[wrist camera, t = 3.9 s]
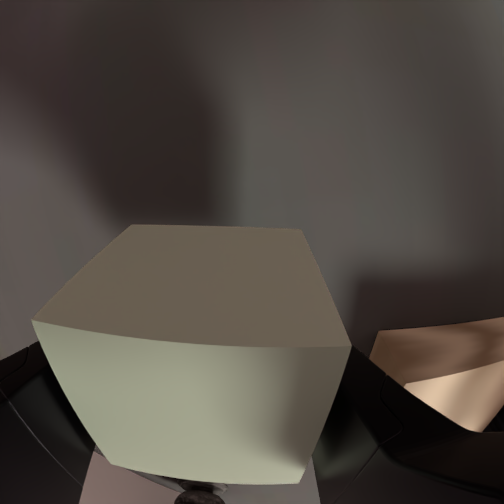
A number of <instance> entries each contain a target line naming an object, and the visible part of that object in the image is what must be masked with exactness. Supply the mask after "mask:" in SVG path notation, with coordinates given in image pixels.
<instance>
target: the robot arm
mask: <svg viewBox="0 0 504 504" xmlns="http://www.w3.org/2000/svg"><path fill="white" fill-rule="evenodd" d="M351 345H352V344H351ZM95 445H96V443H95V442H94V440H93V439H92V437H91V436H90V434H89V433H88V431H87V430H86V428H85V427H84V425H83V424H82V422H81V420H80V419H79V417H78V416H77V414H76V412H75V411H74V409H73V407H72V405H71V404H70V402H69V400H68V398H67V397H66V395H65V393H64V391H63V389H62V388H61V386H60V384H59V382H58V380H57V378H56V376H55V374H54V372H53V370H52V368H51V366H50V364H49V362H48V359H47V357H46V355H45V353H44V351H43V348H42V346H41V344H40V341H37V342H35V343H34V344H32V345H30V346H29V347H26V348H24V349H22V350H20V351H18V352H16V353H15V354H13V355H11V356H9V357H7V358H5V359H2V360H0V504H79V502H80V498H81V494H82V490H83V486H84V482H85V478H86V475H87V471H88V468H89V465H90V461H91V458H92V455H93V451H94V448H95ZM312 459H313V465H314V470H315V475H316V481H317V486H318V492H319V497H320V503H321V504H504V405H503V406H502V408H501V409H500V410H499V412H498V413H497V414H496V415H495V417H494V418H493V419H492V420H491V422H490V423H489V424H488V425H487V426H486V428H485V429H484V430H483V431H482V432H475V431H471V430H468V429H466V428H464V427H462V426H460V425H458V424H457V423H455V422H454V421H452V420H451V419H449V418H447V417H446V416H444V415H443V414H441V413H440V412H438V411H437V410H435V409H434V408H432V407H431V406H429V405H428V404H426V403H425V402H423V401H422V400H420V399H419V398H417V397H416V396H415V395H413V394H412V393H410V392H409V391H408V390H407V389H405V388H404V387H403V386H401V385H400V384H399V383H398V382H396V381H395V380H394V379H393V378H392V377H390V376H389V375H386V373H385V372H384V371H383V370H382V369H381V368H379V367H378V366H377V365H376V364H375V363H373V362H372V361H371V360H370V359H369V358H367V357H366V356H365V355H364V354H363V353H361V352H360V351H359V350H358V349H357V348H356V347H354V346H353V345H352V347H351V350H350V354H349V357H348V360H347V363H346V366H345V369H344V372H343V375H342V378H341V381H340V384H339V387H338V390H337V393H336V396H335V398H334V401H333V404H332V407H331V409H330V412H329V414H328V417H327V420H326V422H325V425H324V427H323V430H322V432H321V435H320V437H319V439H318V442H317V444H316V446H315V449H314V451H313V453H312Z"/></svg>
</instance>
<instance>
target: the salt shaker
mask: <svg viewBox="0 0 504 504" xmlns="http://www.w3.org/2000/svg"><path fill="white" fill-rule="evenodd" d="M177 483H178V485H179V486H180V487H182V488H183V489H184V490H186V491H185V492H183V493H181V494H179V495H178V496H177V498H176V499H175V501H174V504H225V502H224V501H223V500H222V499H221V498H220V497H219V496H218V495H219V494H222V493H224V492H226V491H227V490H228V486H227V485H226V484H224V483H215V482H204V481H195V480H187V479H178V481H177Z"/></svg>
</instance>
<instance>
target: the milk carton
mask: <svg viewBox="0 0 504 504" xmlns="http://www.w3.org/2000/svg"><path fill="white" fill-rule="evenodd" d="M179 494H181V493H180V492H177V491H174V490H172V489H169V488H167V487H164V486H162V485H160V484H157V483H155V482H153V481H150V480H148V479H146V478H144V477H142V476H139V475H137V474H135V473H133V472H131V471H129V470H127V469H125V468H123V467H120V466H116V465H112V464H110V462H109V461H108V460H107V459H106V458H105V457H103V456H101V455H99V454H98V453H96V452H94V451H93V455H92V458H91V461H90V465H89V468H88V471H87V475H86V478H85V482H84V486H83V490H82V494H81V498H80V502H79V504H174V501H175V499H176V498H177V496H178V495H179Z"/></svg>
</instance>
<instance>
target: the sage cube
mask: <svg viewBox="0 0 504 504" xmlns="http://www.w3.org/2000/svg"><path fill="white" fill-rule="evenodd" d="M31 322H32V324H33V327H34V329H35V332H36V334H37V337H38V339H39V341H40V344H41V346H42V348H43V351H44V353H45V355H46V357H47V359H48V362H49V364H50V366H51V368H52V370H53V372H54V374H55V376H56V378H57V380H58V382H59V384H60V386H61V388H62V389H63V391H64V393H65V395H66V397H67V398H68V400H69V402H70V404H71V405H72V407H73V409H74V411H75V412H76V414H77V416H78V417H79V419H80V420H81V422H82V424H83V425H84V427H85V428H86V430H87V431H88V433H89V434H90V436H91V437H92V439H93V440H94V442H95V443H96V445H97V446H98V447H99V449H100V450H101V452H102V453H103V454H104V456H105V457H106V458H107V460H108V461H109V462H110V464H112V465H116V466H120V467H124V468H128V469H132V470H136V471H141V472H145V473H150V474H155V475H161V476H167V477H173V478H179V479H187V480H195V481H204V482H215V483H229V484H292V483H299V481H300V479H301V477H302V475H303V473H304V471H305V469H306V467H307V464H308V462H309V460H310V458H311V456H312V453H313V451H314V449H315V446H316V444H317V442H318V439H319V437H320V435H321V432H322V430H323V427H324V425H325V422H326V420H327V417H328V414H329V412H330V409H331V407H332V404H333V401H334V398H335V396H336V393H337V390H338V387H339V384H340V381H341V378H342V375H343V372H344V369H345V366H346V363H347V360H348V357H349V354H350V350H351V347H352V345H351V343H350V340H349V338H348V335H347V333H346V330H345V328H344V325H343V323H342V321H341V318H340V316H339V313H338V311H337V309H336V306H335V304H334V302H333V299H332V297H331V295H330V292H329V290H328V288H327V285H326V283H325V281H324V279H323V276H322V274H321V272H320V270H319V267H318V265H317V263H316V261H315V258H314V256H313V254H312V252H311V250H310V247H309V245H308V243H307V241H306V239H305V237H304V235H303V232H302V230H301V229H284V228H258V227H229V226H191V225H130V226H129V227H128V228H127V229H126V230H124V231H123V232H122V233H121V234H120V235H118V236H117V237H116V238H115V239H114V240H113V241H112V242H110V243H109V244H108V245H107V246H106V247H105V248H104V249H102V250H101V251H100V252H99V253H98V254H97V255H96V256H95V257H94V258H93V259H91V260H90V261H89V262H88V263H87V264H86V265H85V266H84V267H83V268H82V269H81V270H80V271H79V272H77V273H76V274H75V275H74V276H73V277H72V278H71V279H70V280H69V281H68V282H67V283H66V284H65V285H64V286H63V287H62V288H61V289H60V290H59V291H58V292H57V293H56V294H55V295H54V296H53V297H52V298H51V299H50V300H49V301H48V302H47V303H46V304H45V305H44V306H43V307H42V308H41V309H40V310H39V311H38V313H37V314H36V315H35V316H34V317H33V318H32V319H31Z"/></svg>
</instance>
